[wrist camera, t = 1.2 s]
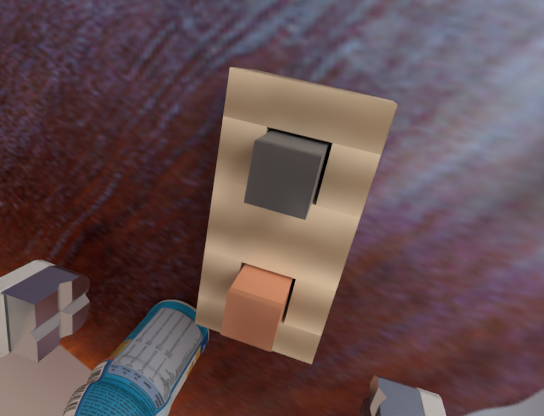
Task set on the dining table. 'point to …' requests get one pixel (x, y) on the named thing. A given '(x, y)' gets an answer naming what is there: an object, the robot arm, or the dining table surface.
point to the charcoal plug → (285, 172)
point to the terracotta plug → (255, 306)
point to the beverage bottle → (144, 366)
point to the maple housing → (279, 227)
